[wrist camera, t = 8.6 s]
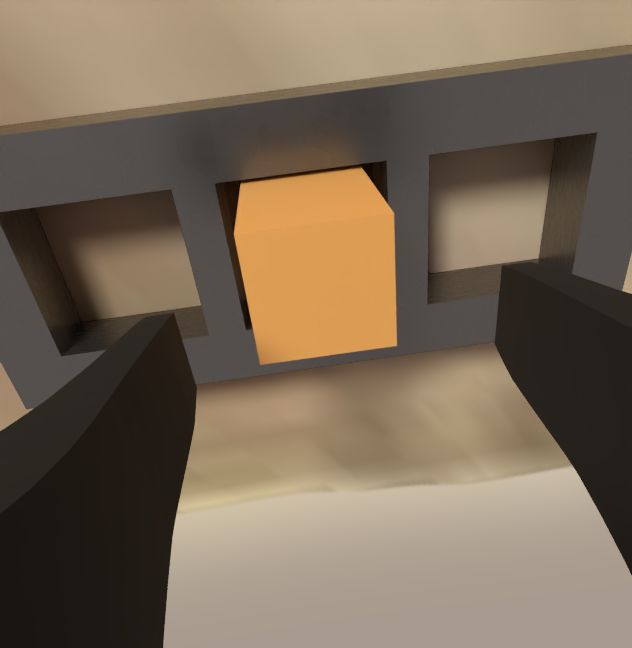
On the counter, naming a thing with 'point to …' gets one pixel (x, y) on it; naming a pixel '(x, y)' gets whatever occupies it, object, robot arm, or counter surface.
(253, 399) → the counter surface
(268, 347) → the square block
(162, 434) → the robot arm
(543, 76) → the gray board with holes
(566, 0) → the counter surface
